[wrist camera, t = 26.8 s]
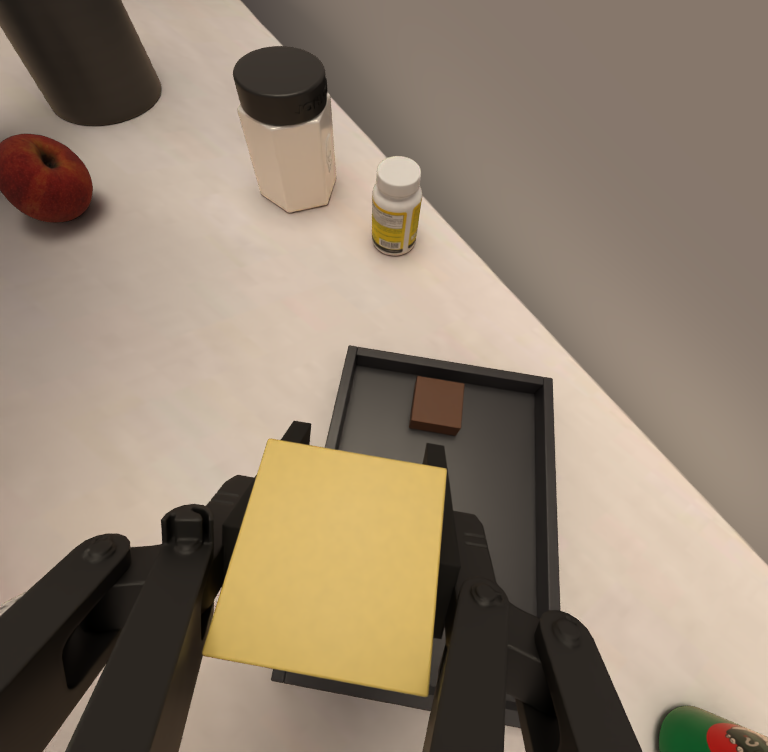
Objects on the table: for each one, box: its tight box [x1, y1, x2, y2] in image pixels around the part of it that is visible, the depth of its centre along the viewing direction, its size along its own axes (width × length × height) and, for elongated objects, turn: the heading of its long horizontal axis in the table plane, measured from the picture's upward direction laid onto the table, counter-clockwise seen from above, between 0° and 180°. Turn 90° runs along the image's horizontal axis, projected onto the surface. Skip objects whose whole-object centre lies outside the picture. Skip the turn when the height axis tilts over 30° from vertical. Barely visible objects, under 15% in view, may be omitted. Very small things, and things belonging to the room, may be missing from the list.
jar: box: [233, 46, 336, 213], centre depth 40 cm, size 9×8×12 cm
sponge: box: [202, 439, 447, 697], centre depth 14 cm, size 5×5×10 cm
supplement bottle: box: [372, 156, 422, 256], centre depth 39 cm, size 5×5×8 cm
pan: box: [271, 346, 560, 728], centre depth 29 cm, size 18×24×2 cm
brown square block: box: [409, 376, 464, 436], centre depth 33 cm, size 4×4×2 cm
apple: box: [0, 134, 93, 222], centre depth 39 cm, size 7×8×8 cm
